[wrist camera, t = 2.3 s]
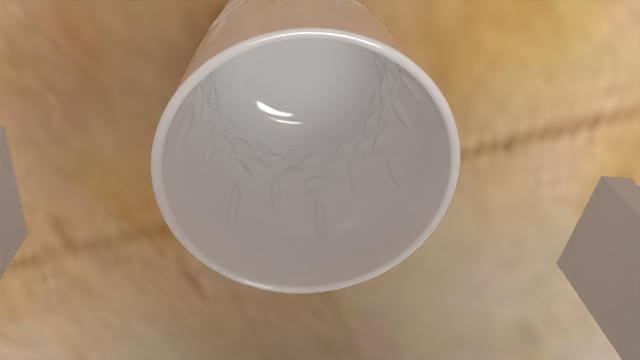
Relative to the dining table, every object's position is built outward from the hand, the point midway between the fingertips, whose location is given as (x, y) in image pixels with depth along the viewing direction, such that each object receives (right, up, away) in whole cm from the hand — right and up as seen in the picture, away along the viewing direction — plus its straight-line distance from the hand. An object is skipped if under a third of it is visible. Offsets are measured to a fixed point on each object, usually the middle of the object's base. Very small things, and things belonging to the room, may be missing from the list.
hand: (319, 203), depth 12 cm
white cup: (-1, +6, +10) cm, 12 cm away
